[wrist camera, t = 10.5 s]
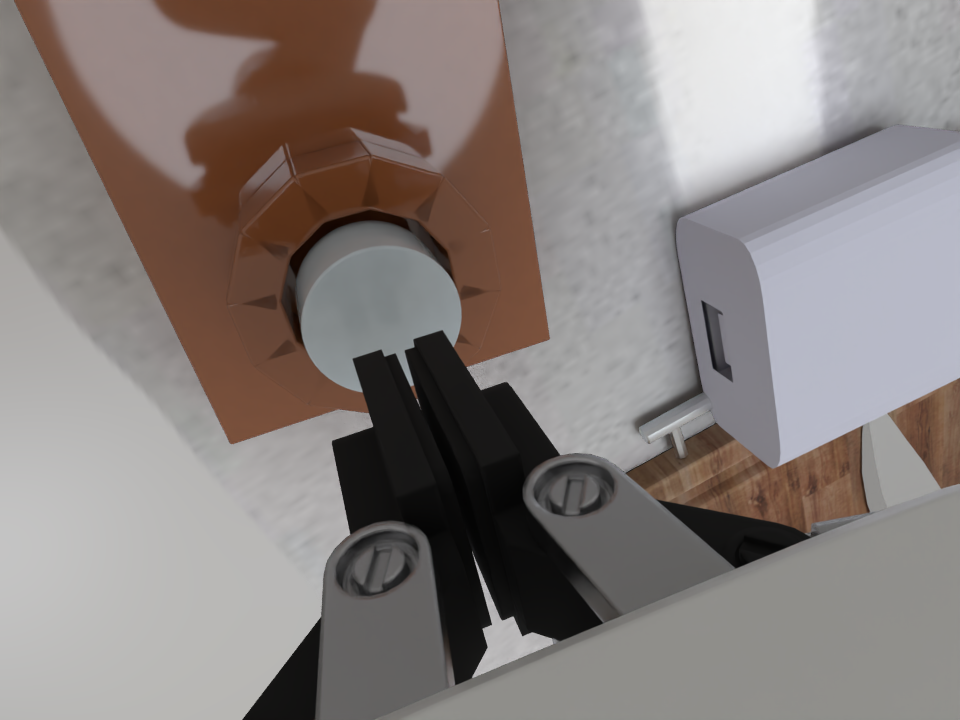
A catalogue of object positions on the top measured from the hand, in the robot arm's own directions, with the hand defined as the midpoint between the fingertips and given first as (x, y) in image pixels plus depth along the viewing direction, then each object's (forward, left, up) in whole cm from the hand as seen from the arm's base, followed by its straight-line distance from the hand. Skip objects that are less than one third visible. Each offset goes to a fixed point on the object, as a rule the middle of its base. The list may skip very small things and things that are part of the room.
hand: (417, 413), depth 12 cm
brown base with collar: (-2, 0, -10) cm, 10 cm away
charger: (+6, +19, -10) cm, 22 cm away
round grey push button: (0, 0, -5) cm, 5 cm away
